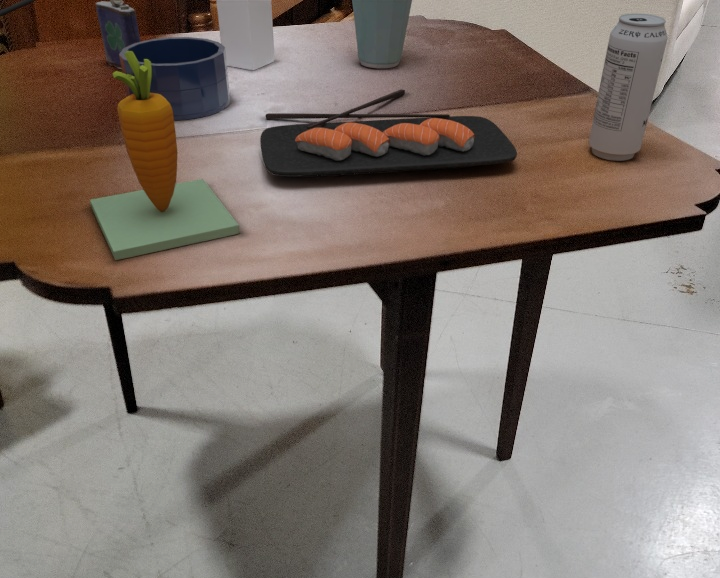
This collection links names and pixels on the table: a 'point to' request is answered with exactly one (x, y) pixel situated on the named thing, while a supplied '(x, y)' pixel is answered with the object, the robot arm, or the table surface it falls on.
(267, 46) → the milk
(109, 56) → the flask
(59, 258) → the table surface
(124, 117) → the carrot
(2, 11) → the robot arm
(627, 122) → the energy drink can
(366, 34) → the disposable coffee cup
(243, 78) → the table surface
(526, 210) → the table surface
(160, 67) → the pot
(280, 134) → the sushi plate
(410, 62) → the table surface
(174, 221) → the mat
